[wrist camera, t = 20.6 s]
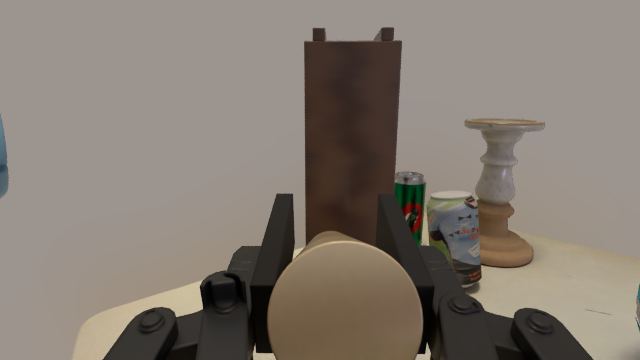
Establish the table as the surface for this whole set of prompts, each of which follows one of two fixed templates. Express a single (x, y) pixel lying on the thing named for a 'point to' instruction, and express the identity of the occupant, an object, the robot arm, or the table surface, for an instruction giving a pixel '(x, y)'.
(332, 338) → the wooden dowel rod
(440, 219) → the beverage can
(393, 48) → the stand
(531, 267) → the table surface
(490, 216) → the candle holder
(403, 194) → the soda can
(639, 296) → the puzzle ball
